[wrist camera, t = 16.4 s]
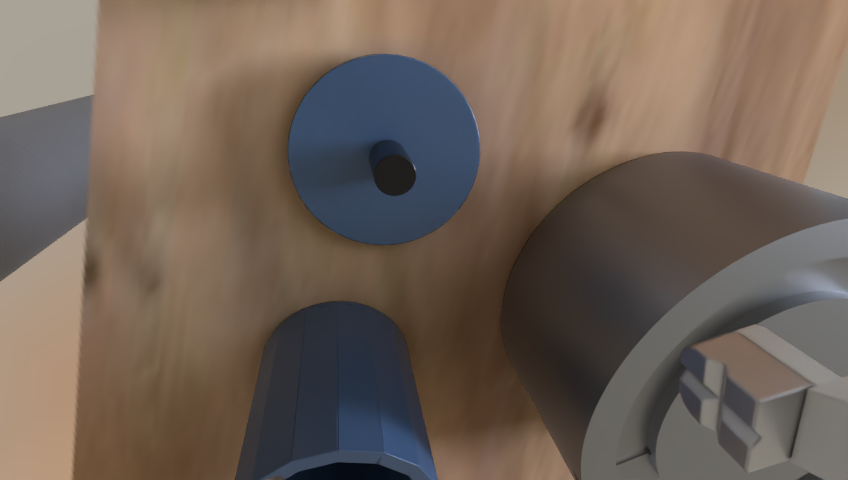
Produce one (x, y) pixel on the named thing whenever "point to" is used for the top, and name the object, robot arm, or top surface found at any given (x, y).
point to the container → (668, 305)
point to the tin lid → (383, 149)
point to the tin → (336, 401)
